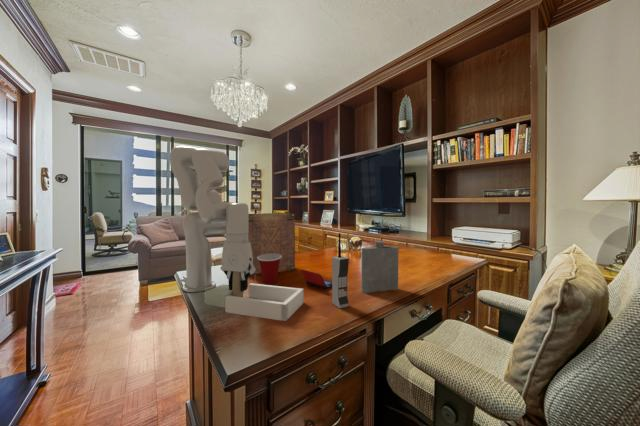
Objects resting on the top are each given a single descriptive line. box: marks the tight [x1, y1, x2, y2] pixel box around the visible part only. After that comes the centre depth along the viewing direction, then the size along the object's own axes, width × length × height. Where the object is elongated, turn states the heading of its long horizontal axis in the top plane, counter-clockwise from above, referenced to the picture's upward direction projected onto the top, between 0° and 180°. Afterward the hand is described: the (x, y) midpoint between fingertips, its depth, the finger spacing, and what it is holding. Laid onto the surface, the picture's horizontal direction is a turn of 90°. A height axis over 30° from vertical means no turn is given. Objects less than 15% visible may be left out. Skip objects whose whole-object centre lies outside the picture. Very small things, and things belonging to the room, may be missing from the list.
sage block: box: [204, 283, 233, 308], centre depth 93 cm, size 9×9×4 cm
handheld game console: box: [300, 269, 332, 291], centre depth 110 cm, size 12×11×7 cm
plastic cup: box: [257, 253, 282, 285], centre depth 115 cm, size 11×11×12 cm
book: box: [248, 212, 296, 275], centre depth 134 cm, size 25×9×30 cm, turn 109°
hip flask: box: [360, 240, 400, 294], centre depth 104 cm, size 16×4×20 cm, turn 104°
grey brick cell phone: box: [331, 233, 350, 309], centre depth 88 cm, size 4×5×25 cm
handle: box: [232, 272, 245, 297], centre depth 90 cm, size 5×6×15 cm
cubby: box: [225, 282, 305, 322], centre depth 87 cm, size 22×15×5 cm
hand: (238, 289), depth 91 cm, fingers closed on handle, 4 cm apart
